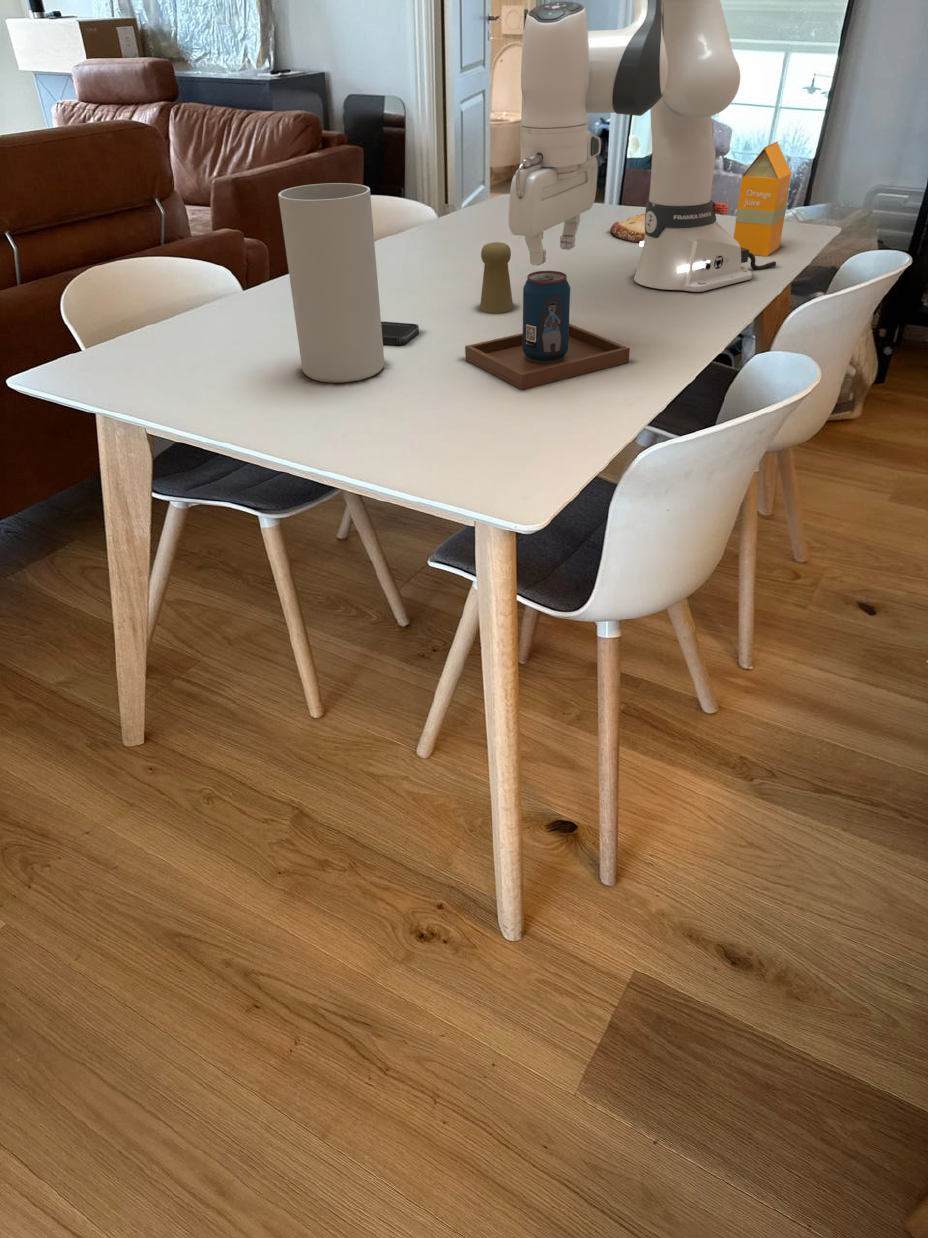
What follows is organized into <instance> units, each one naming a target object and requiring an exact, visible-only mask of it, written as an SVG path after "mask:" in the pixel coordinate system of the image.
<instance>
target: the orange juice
mask: <svg viewBox="0 0 928 1238" xmlns="http://www.w3.org/2000/svg"><path fill="white" fill-rule="evenodd" d="M791 180H792V171H791V168H790V166H789V165H788V162H787V159H786V158H785V156H784V154H783V151H782V149H781V147H780V145H779V141H775V142H773V143H771V144H768V145H766V146H764V148H763V149H762V150H761V151H760V152H759V154H758V155H757V156H756V158H755V159H754V160H753V161H752V162H751V164H750V165H749V167H748V168H747V169H746V170H745V172H743V174H742V176H741V179H740V188H739V194H738V201H737V208H736V214H735V215H736V216H735V225H734V232H733V238H734V239H735V240H736V241H737V242H738V243H739V245H740V247H742V248H745V249H748V250H749V252H750V253H752V254H753V255H754V256H762V257H768V256H770V255H771V254H772V253H774V252H775V251H777V250H778V249H780V246H781V240H782V234H783V227H784V223H785V222H784V221H785V217H786V210H787V205H788V199H789V190H790V186H791V185H790V184H791Z"/></svg>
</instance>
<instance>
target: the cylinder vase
mask: <svg viewBox="0 0 928 1238" xmlns="http://www.w3.org/2000/svg"><path fill="white" fill-rule="evenodd" d="M277 195H278V204H279V210H280V217H281V218H280V219H281V224H282V231H283V240H284V246H285V254H286V261H287V270H288V275H289V282H290V284H289V285H290V291H291V299H292V304H293V305H292V307H293V312H294V321H295V326H296V334H297V340H298V348H299V356H300V364H301V369H302V372H303V373H304V375H305V376H306V377H308V378H310V379H312V380H315V381H317V382H323V383H336V384H337V383H338V384H339V383H351V382H356V381H357V382H358V381H361V380H362V381H363V380H365V379H368V378H371V377H373V376H375V375H376V374H378V373H380V372H381V371H382V369H383V368H384V365H385V353H384V344H383V340H382V328H381V321H382V317H381V307H380V306H381V305H380V292H379V282H378V280H379V279H378V268H377V258H376V244H375V234H374V222H373V221H374V219H373V209H372V198H371V197H372V196H371V188H370V187H369V186H367V185H365V184H358V183H347V182H346V183H345V182H344V183H343V182H332V183H331V182H330V183H328V182H327V183H315V184H306V185H305V184H304V185H299V186H294V187H290V188H286V189H283V190H281V191H280V192H278V194H277Z"/></svg>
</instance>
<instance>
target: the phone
mask: <svg viewBox="0 0 928 1238" xmlns="http://www.w3.org/2000/svg"><path fill="white" fill-rule="evenodd" d="M381 328H382V340H383V345H392V346H402V345H406V344H407V343H408V342H410V341H411V340H412V339H413V338H415V337H416V336H417V335H418V334H419V333H420V327H419V324H417V323H407V322H395V321H382V320H381Z"/></svg>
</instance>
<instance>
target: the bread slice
mask: <svg viewBox="0 0 928 1238" xmlns="http://www.w3.org/2000/svg"><path fill="white" fill-rule="evenodd" d="M609 232H610V233H611V234H613V235H614V236H615V237H616V238H617V239H620V240H621V239H622V240H625V241H629V242H633V243H640V241H644V238H645V213H640V214H639V215H638V214H637V215H635V216H632V217H629V218H626V219H625V220H623V221H615V222H614V223H613V224H612V225H611V227H610V229H609Z"/></svg>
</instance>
